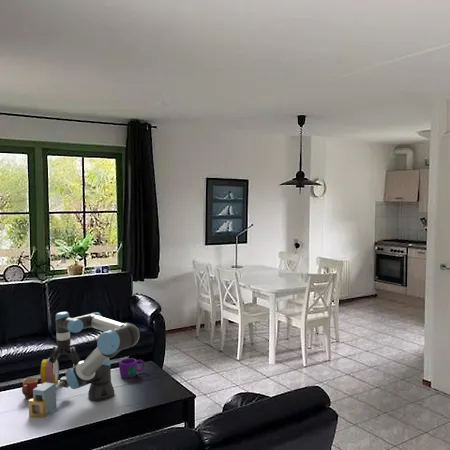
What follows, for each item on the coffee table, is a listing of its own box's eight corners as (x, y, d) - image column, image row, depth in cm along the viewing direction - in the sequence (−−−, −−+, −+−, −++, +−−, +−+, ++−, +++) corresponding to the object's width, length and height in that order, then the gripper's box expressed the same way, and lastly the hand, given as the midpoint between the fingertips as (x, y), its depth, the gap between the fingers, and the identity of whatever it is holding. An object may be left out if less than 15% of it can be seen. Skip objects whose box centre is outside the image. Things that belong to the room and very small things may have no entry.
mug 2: (123, 380, 304) (123, 365, 303) (117, 375, 313) (116, 360, 312) (148, 374, 314) (148, 359, 313) (141, 369, 323) (140, 354, 322)
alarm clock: (55, 391, 290) (54, 362, 288) (41, 392, 288) (39, 363, 287) (59, 381, 304) (58, 353, 303) (46, 383, 303) (44, 354, 302)
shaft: (71, 385, 282) (70, 377, 282) (48, 400, 262) (48, 391, 262) (64, 384, 284) (63, 376, 283) (41, 399, 263) (40, 390, 263)
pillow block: (60, 408, 266) (59, 383, 266) (49, 416, 257) (47, 391, 256) (42, 406, 270) (40, 381, 269) (30, 414, 260) (29, 389, 259)
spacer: (46, 416, 257) (45, 400, 256) (43, 418, 255) (42, 402, 254) (32, 414, 260) (31, 398, 259) (29, 416, 257) (28, 400, 257)
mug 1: (29, 393, 287) (28, 377, 287) (42, 394, 286) (41, 377, 285) (16, 402, 276) (15, 385, 275) (30, 403, 274) (29, 385, 273)
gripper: (85, 338, 279) (87, 373, 280) (49, 335, 286) (51, 370, 287) (78, 341, 272) (80, 378, 273) (41, 339, 279) (43, 374, 280)
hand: (65, 374), depth 280 cm, fingers open, 13 cm apart
